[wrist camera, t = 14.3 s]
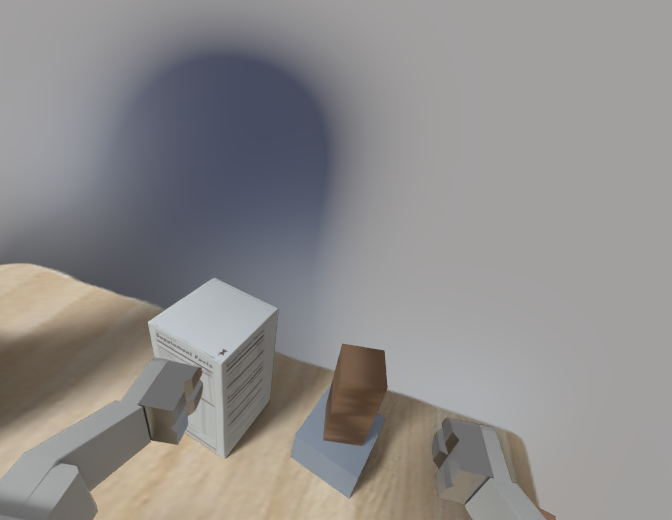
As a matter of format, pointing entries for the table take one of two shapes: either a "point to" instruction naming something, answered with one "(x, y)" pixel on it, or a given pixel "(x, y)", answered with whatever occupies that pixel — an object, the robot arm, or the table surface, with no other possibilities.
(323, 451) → the slate block
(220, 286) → the supplement box
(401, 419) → the table surface
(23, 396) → the table surface
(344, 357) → the walnut post
